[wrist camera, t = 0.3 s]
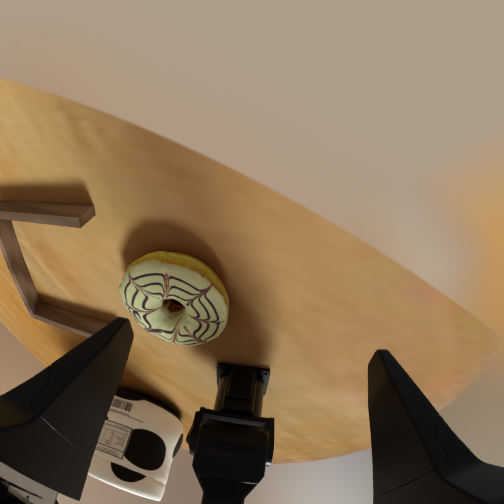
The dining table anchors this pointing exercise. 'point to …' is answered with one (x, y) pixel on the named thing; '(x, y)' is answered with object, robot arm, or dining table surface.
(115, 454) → the milk container
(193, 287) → the decorated donut
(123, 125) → the dining table surface
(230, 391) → the robot arm
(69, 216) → the u-shaped brown rail
